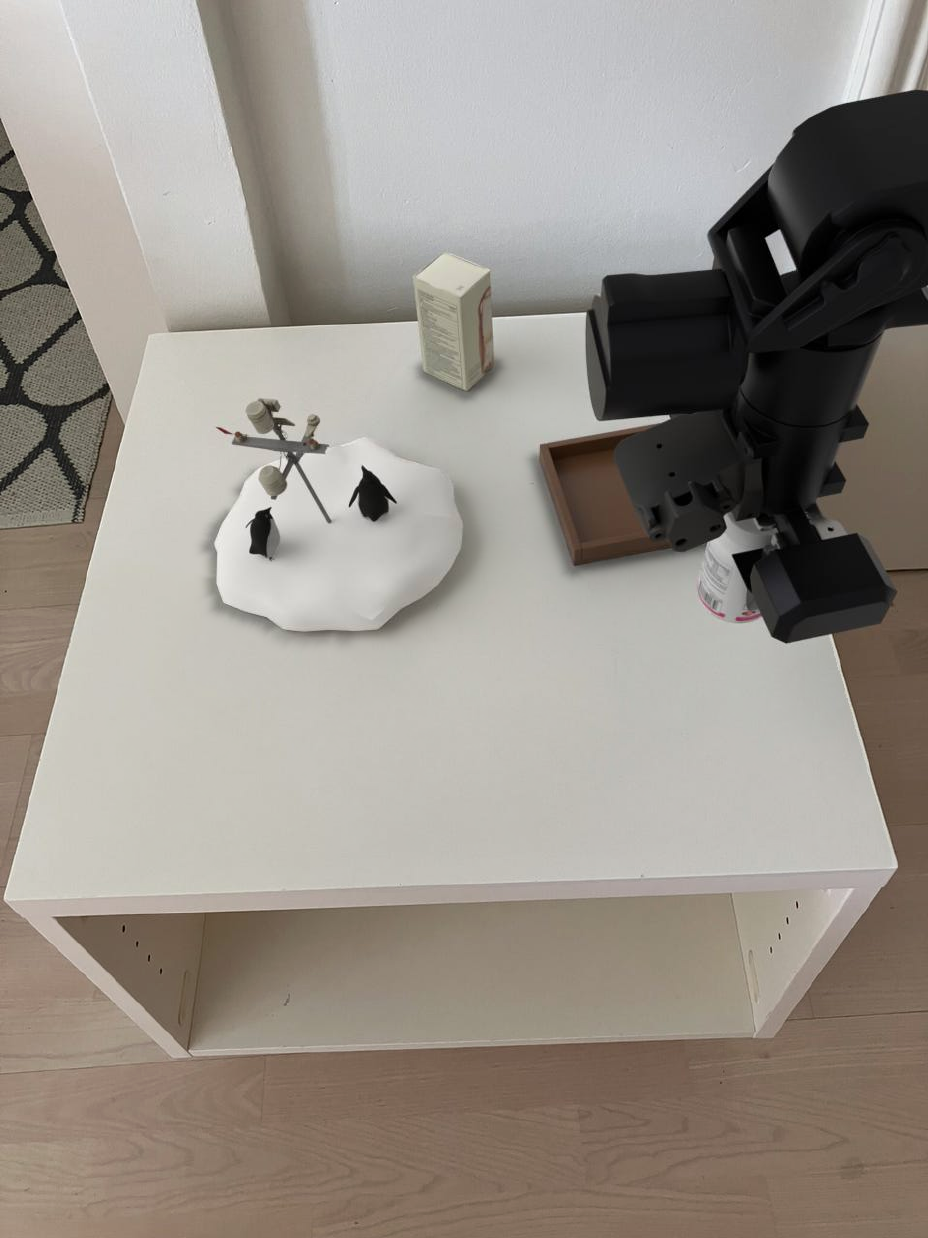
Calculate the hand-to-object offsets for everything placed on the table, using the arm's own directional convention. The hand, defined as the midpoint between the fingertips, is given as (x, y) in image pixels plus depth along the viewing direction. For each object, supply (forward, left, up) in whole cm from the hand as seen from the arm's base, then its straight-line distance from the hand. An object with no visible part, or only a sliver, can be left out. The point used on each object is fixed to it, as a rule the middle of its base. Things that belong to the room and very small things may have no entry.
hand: (740, 574), depth 63 cm
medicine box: (+11, -35, -12) cm, 39 cm away
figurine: (+24, -18, -12) cm, 33 cm away
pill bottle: (0, 0, -2) cm, 2 cm away
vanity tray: (+1, -17, -12) cm, 21 cm away
